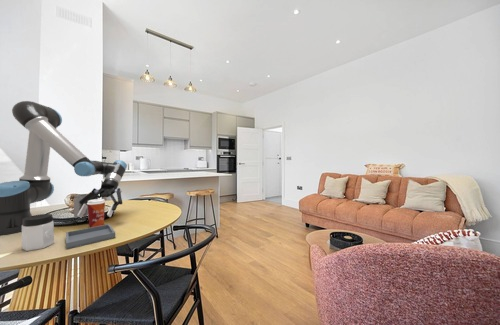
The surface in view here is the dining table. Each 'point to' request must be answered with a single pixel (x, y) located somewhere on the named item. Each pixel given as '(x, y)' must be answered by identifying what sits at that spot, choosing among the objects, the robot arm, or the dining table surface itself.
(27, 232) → the jar
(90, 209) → the paper cup
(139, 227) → the dining table surface
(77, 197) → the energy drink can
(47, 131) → the robot arm
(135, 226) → the dining table surface
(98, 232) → the tray
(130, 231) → the dining table surface
